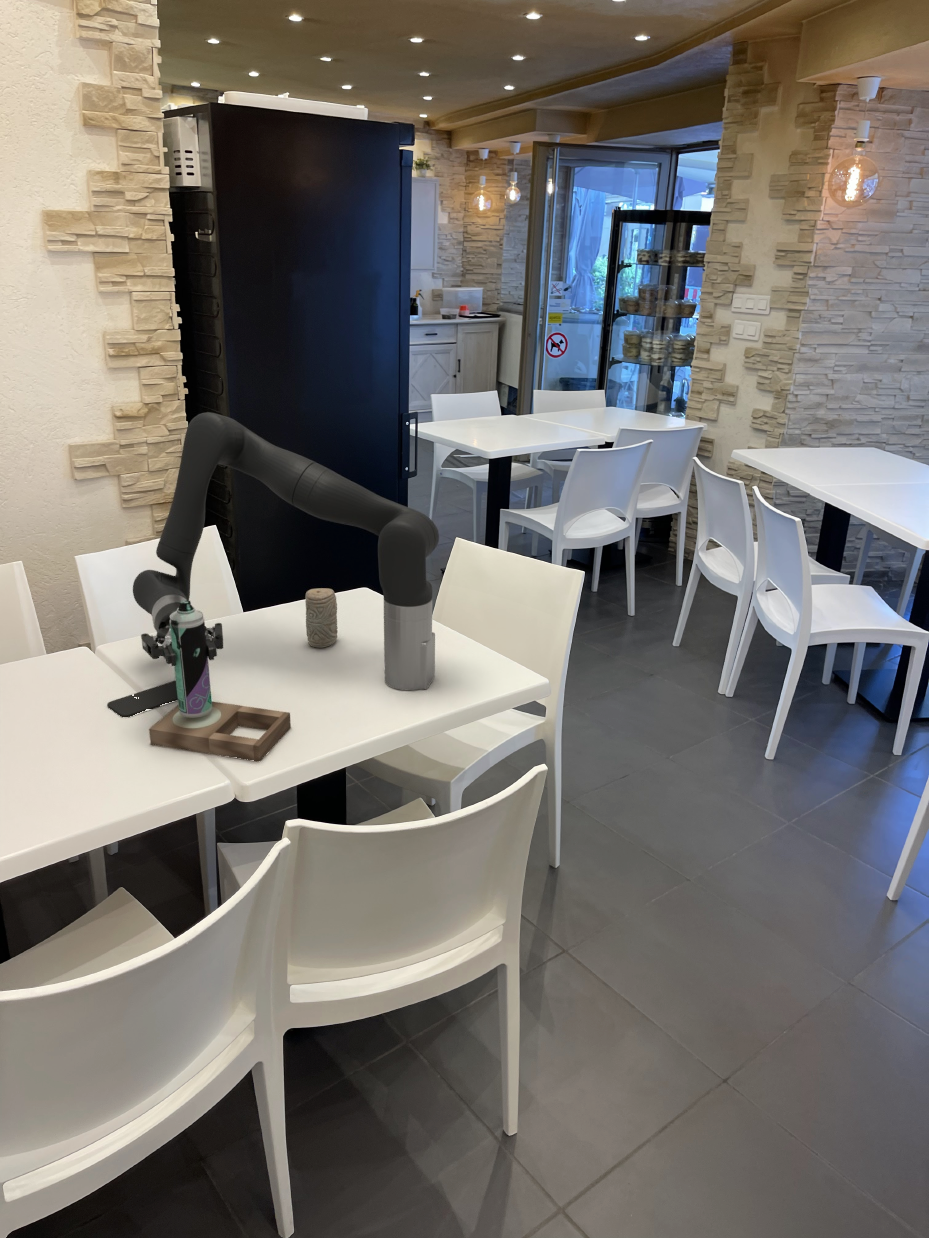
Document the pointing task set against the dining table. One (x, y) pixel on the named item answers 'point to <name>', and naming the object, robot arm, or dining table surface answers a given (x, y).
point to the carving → (321, 617)
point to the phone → (145, 700)
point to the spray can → (191, 661)
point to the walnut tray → (222, 731)
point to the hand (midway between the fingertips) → (192, 657)
